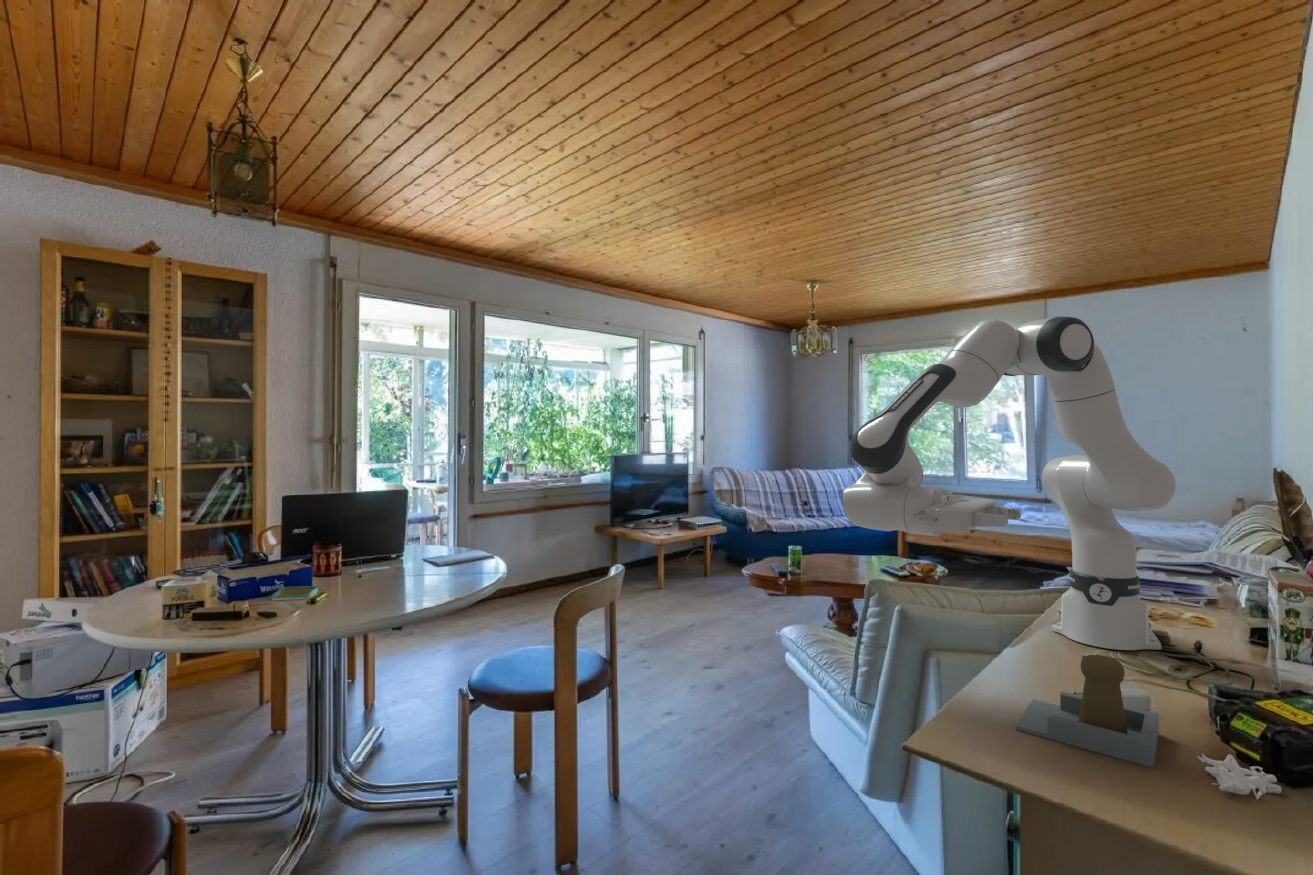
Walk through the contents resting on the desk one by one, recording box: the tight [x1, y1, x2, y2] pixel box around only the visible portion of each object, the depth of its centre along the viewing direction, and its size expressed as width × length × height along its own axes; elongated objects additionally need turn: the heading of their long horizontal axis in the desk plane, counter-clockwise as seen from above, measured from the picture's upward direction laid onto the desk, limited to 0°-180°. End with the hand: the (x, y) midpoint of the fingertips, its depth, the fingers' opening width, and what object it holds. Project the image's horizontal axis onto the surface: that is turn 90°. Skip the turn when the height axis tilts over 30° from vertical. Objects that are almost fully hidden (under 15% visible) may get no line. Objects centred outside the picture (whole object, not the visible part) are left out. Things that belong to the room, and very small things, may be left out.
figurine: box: [1197, 753, 1283, 800], centre depth 77 cm, size 3×8×8 cm
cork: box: [1078, 654, 1128, 734], centre depth 90 cm, size 6×6×11 cm
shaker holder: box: [1016, 691, 1160, 769], centre depth 91 cm, size 12×16×3 cm
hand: (1013, 517), depth 104 cm, fingers open, 8 cm apart
